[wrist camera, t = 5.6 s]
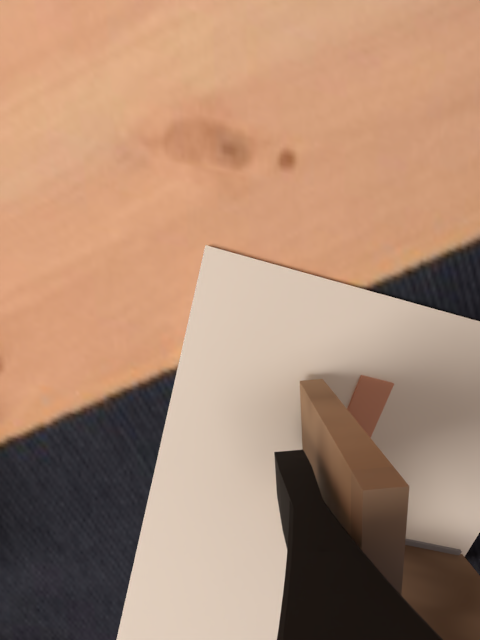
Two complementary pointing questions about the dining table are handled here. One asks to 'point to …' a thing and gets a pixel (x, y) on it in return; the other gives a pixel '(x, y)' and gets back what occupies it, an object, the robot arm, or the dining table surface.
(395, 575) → the gate panel
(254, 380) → the card
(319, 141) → the dining table surface
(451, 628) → the frame
